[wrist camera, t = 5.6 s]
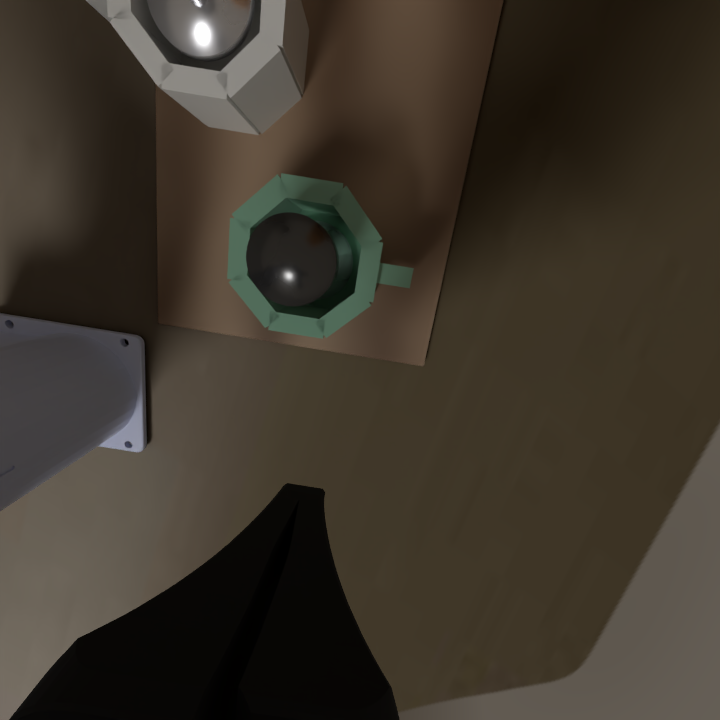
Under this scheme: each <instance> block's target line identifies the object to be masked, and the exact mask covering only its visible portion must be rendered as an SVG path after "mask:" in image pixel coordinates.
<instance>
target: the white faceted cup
mask: <svg viewBox="0 0 720 720" xmlns="http://www.w3.org/2000/svg"><path fill="white" fill-rule="evenodd" d="M86 1H87V2H88V3H89V4H90V5H91V6H92V7H93V8H95V9H96V10H97V11H98V12H99V13H100V14H101V15H102V16H103V17H104V18H106V19H107V20H108V21H109V22H110V23H111V25H112V26H113V27H114V29H115V30H116V31H117V33H118V34H119V35H120V37H121V38H122V39H123V41H124V42H125V43H126V45H127V46H128V47H129V49H130V50H131V51H132V53H133V54H134V55H135V57H136V58H137V59H138V61H139V62H140V63H141V65H142V66H143V67H144V69H145V70H146V71H147V73H148V74H149V75H150V77H151V78H152V79H153V81H154V82H155V83H156V85H157V86H158V87H159V88H160V89H162V90H163V91H164V92H165V93H167V94H168V95H169V96H170V97H172V98H173V99H174V100H175V101H177V102H178V103H179V104H180V105H181V106H183V107H184V108H185V109H186V110H188V111H189V112H190V113H191V114H193V115H194V116H195V117H196V118H198V119H199V120H200V121H201V122H202V123H204V124H205V125H207V126H208V127H212V128H218V129H224V130H230V131H236V132H242V133H249V134H255V135H259V131H260V133H261V134H263V133H264V132H265V131H266V130H267V129H268V128H270V127H271V126H272V125H273V124H274V123H275V122H276V121H277V120H278V119H279V118H281V117H282V116H283V115H284V114H285V113H286V112H287V111H288V110H289V109H290V108H291V107H293V106H294V105H295V104H296V103H297V102H298V101H299V100H300V99H301V95H303V93H304V82H305V71H306V60H307V50H308V39H309V28H308V24H307V20H306V17H305V13H304V9H303V6H302V2H301V0H254V16H253V21H252V25H251V28H250V31H249V33H248V35H247V37H246V39H245V41H244V42H243V44H242V45H241V46H240V47H239V48H238V49H237V50H236V51H235V52H234V53H233V54H231V55H230V56H228V57H227V58H224V59H222V60H219V61H214V62H203V61H198V60H194V59H192V58H189V57H188V56H186V55H184V54H182V53H181V52H180V51H179V50H177V49H176V48H175V47H174V46H173V45H172V44H171V43H170V42H169V41H168V40H167V39H166V37H165V36H164V35H163V34H162V33H161V31H160V30H159V28H158V27H157V25H156V23H155V21H154V19H153V17H152V15H151V12H150V10H149V6H148V3H147V0H86ZM300 94H301V95H300Z"/></svg>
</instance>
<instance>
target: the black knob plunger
mask: <svg viewBox="0 0 720 720" xmlns="http://www.w3.org/2000/svg"><path fill="white" fill-rule="evenodd" d="M246 263H247V268H248V272H249V275H250V277H251V279H252V281H253V283H254V285H255V286H256V287H257V289H258V290H259V291H260V292H261V293H262V294H263V295H264V296H265V297H267V298H268V299H270V300H271V301H273V302H275V303H278V304H281V305H285V306H302V305H306V304H309V303H311V302H313V301H315V300H317V299H325V298H328V297H330V296H333V295H334V294H336V293H337V292H339V291H340V290H341V289H342V288H343V287H344V286H345V284H346V283H347V282H348V280H349V278H350V275H351V272H352V268H353V255H352V251H351V247H350V245H349V243H348V241H347V239H346V238H345V236H344V235H343V234H342V233H341V232H340V231H339V230H338V229H336V228H335V227H334V226H332V225H330V224H328V223H326V222H322V221H316V220H313V219H311V218H309V217H307V216H305V215H302V214H298V213H292V212H284V213H278V214H275V215H272V216H270V217H268V218H266V219H265V220H264V221H262V222H261V223H260V224H259V225H258V226H257V227H256V229H255V230H254V231H253V233H252V235H251V237H250V239H249V242H248V245H247V251H246Z"/></svg>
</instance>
